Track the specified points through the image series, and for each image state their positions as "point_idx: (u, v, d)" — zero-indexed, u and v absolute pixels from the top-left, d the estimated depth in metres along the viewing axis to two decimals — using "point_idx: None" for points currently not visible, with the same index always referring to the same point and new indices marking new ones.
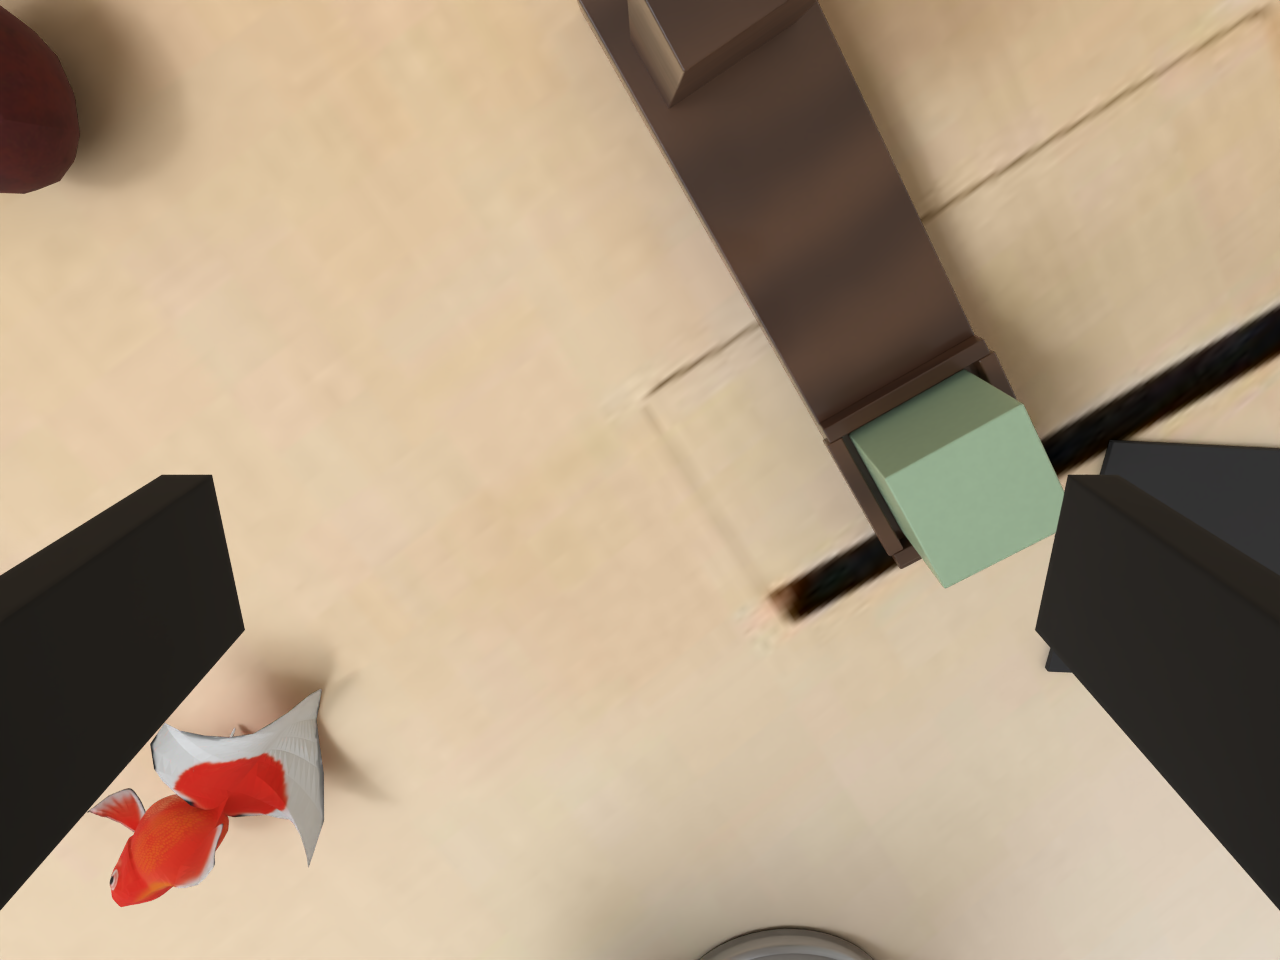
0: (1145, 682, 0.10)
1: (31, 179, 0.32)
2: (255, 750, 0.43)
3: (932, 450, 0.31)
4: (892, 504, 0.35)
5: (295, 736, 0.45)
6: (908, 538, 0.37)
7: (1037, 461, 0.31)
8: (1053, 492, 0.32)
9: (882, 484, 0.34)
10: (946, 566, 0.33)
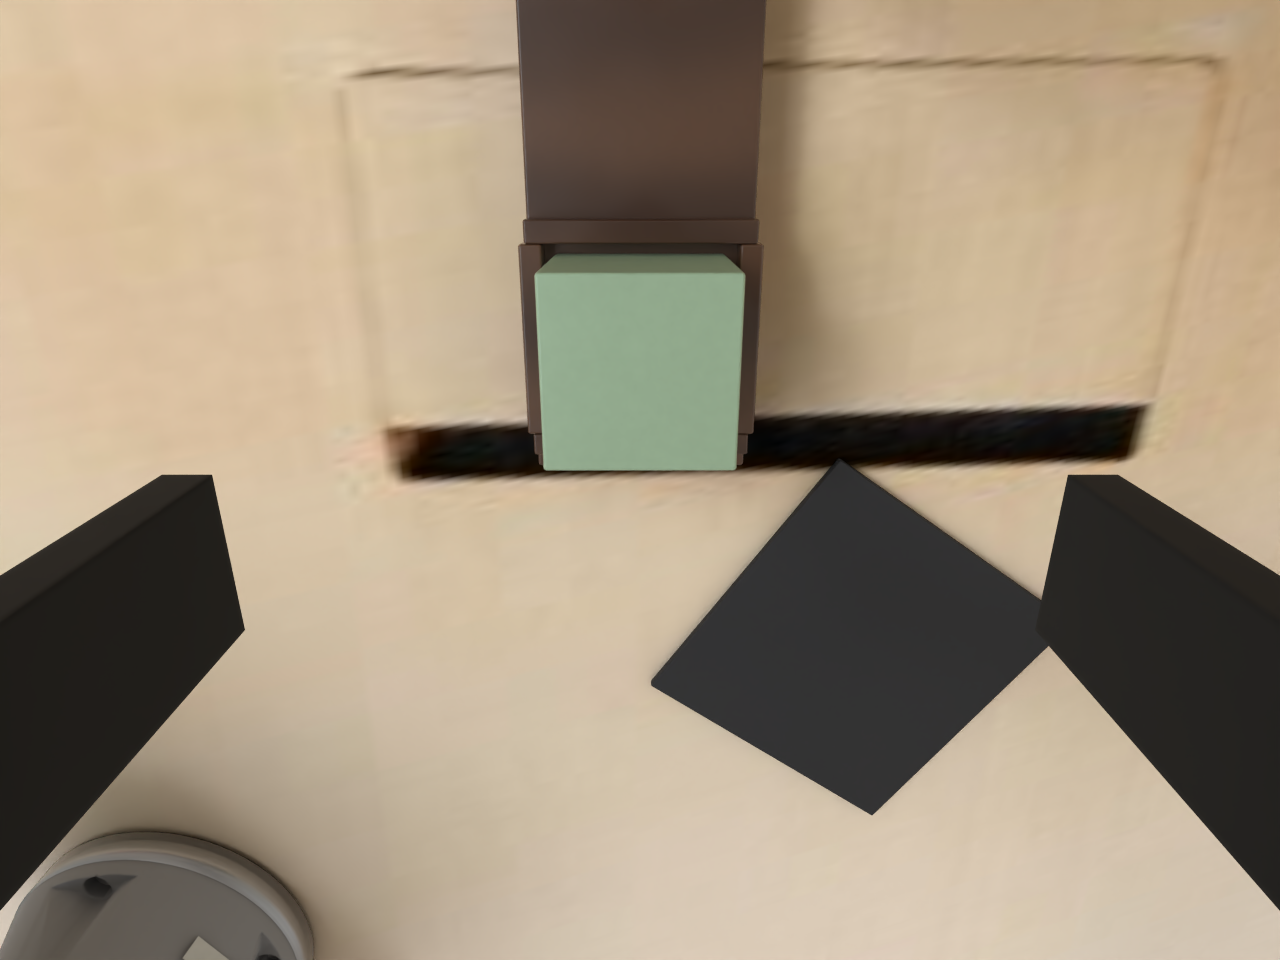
0: (1145, 682, 0.10)
1: None
2: None
3: (611, 272, 0.22)
4: None
5: None
6: None
7: (726, 362, 0.23)
8: (725, 415, 0.24)
9: None
10: (557, 440, 0.24)
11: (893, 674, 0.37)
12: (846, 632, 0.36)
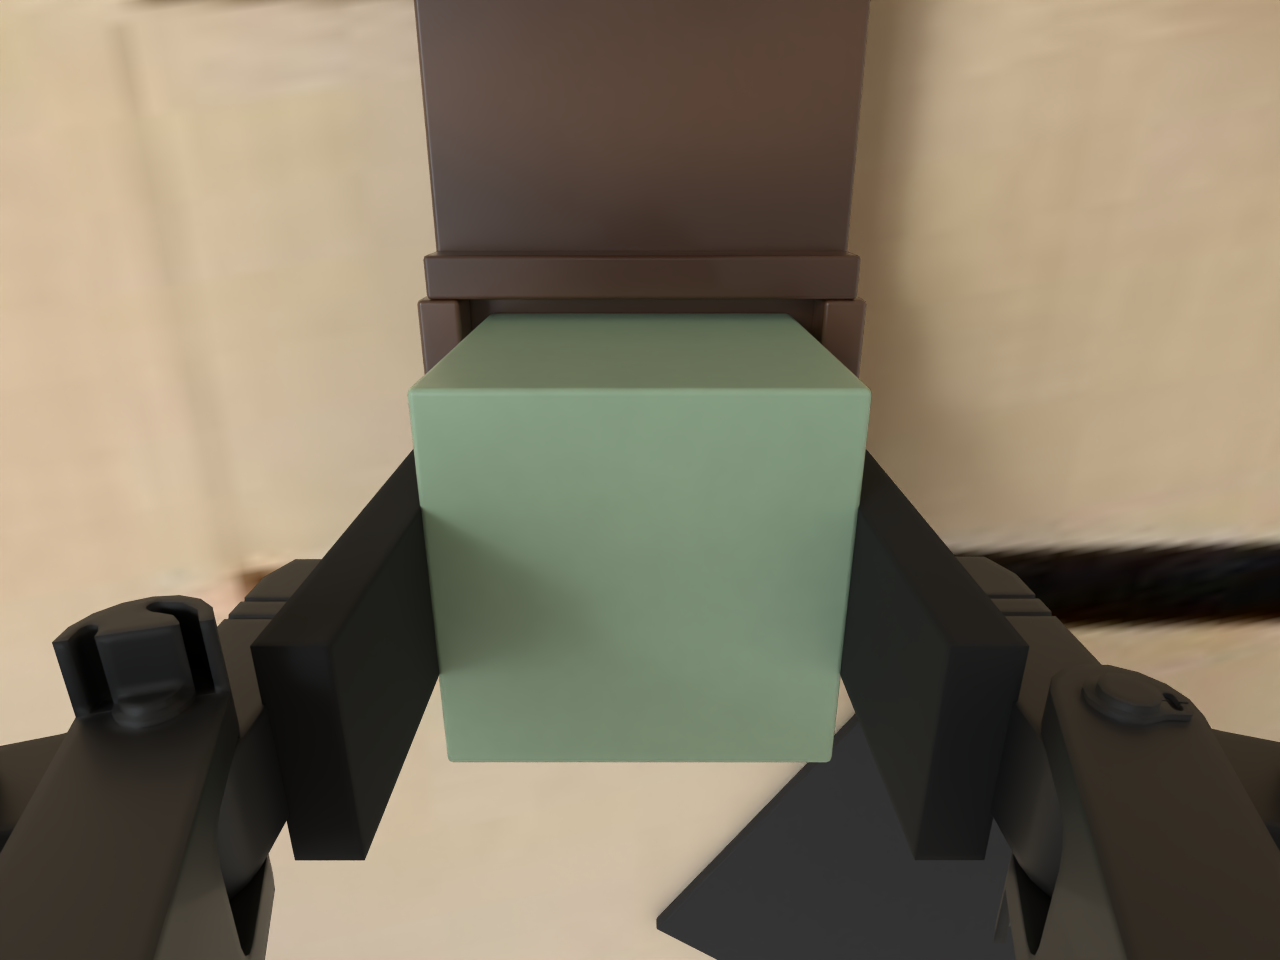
0: None
1: None
2: None
3: (578, 385, 0.10)
4: None
5: None
6: None
7: (821, 568, 0.11)
8: (816, 666, 0.11)
9: None
10: (473, 710, 0.12)
11: None
12: (949, 860, 0.24)
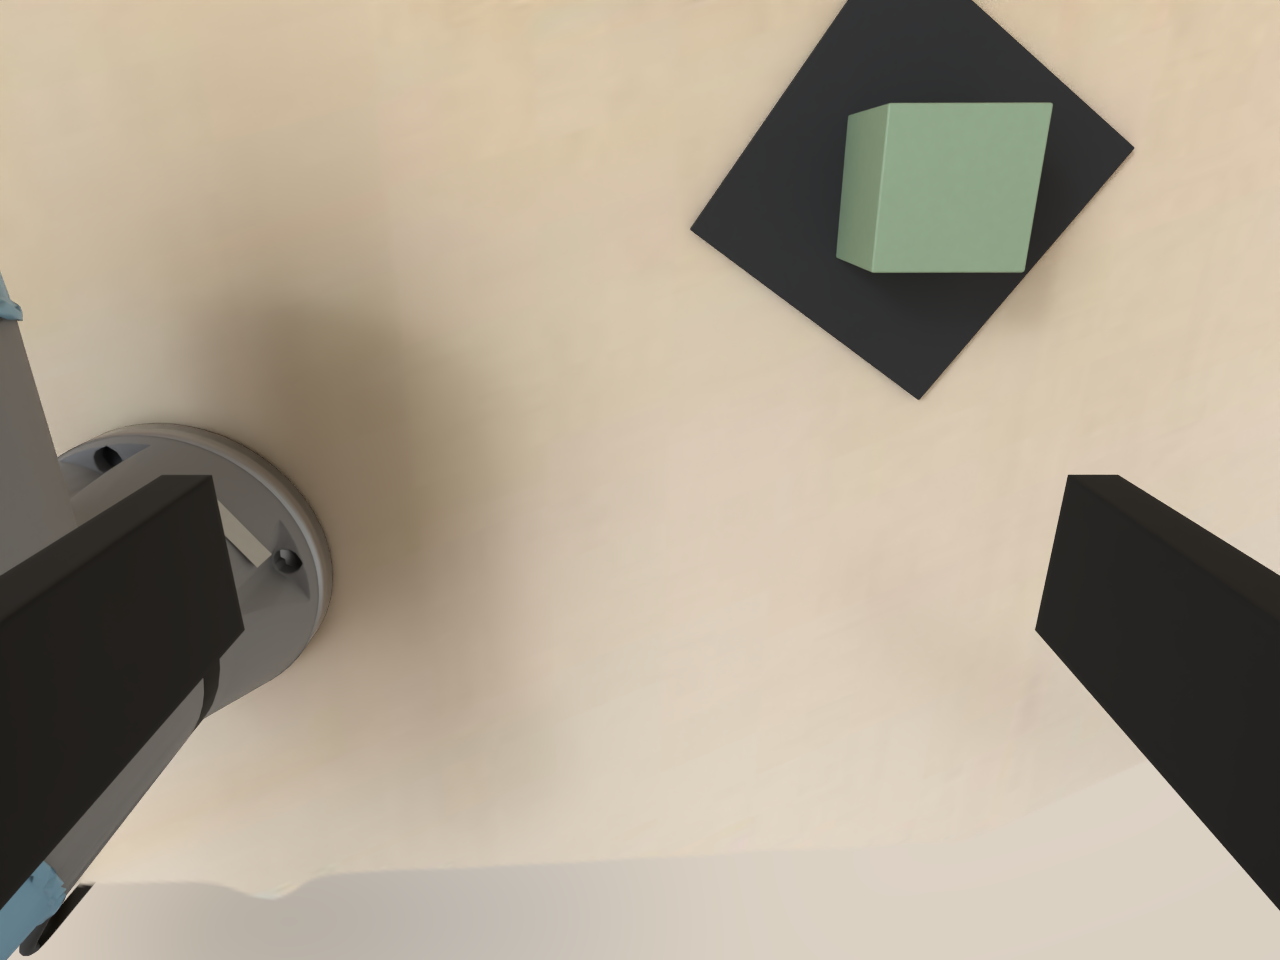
0: (1145, 682, 0.10)
1: None
2: None
3: None
4: (861, 181, 0.32)
5: None
6: (845, 251, 0.34)
7: (1029, 178, 0.29)
8: (1023, 223, 0.30)
9: (868, 143, 0.31)
10: (886, 245, 0.30)
11: None
12: None
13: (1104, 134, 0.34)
